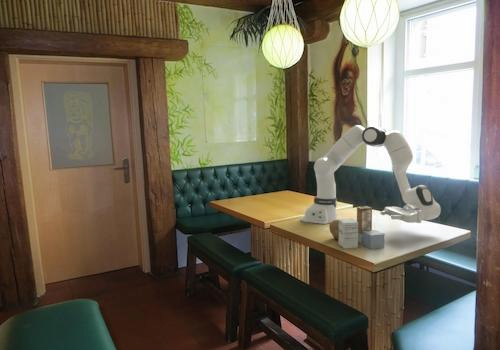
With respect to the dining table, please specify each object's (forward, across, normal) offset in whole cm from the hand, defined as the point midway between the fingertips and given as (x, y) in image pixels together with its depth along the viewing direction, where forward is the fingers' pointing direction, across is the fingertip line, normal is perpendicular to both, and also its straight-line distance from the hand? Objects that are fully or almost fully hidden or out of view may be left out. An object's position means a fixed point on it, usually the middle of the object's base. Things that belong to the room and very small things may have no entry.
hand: (386, 215), depth 194 cm
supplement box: (+24, +5, +12) cm, 27 cm away
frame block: (+12, 0, +8) cm, 15 cm away
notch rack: (+12, +4, +12) cm, 18 cm away
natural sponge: (+23, -7, +12) cm, 27 cm away
